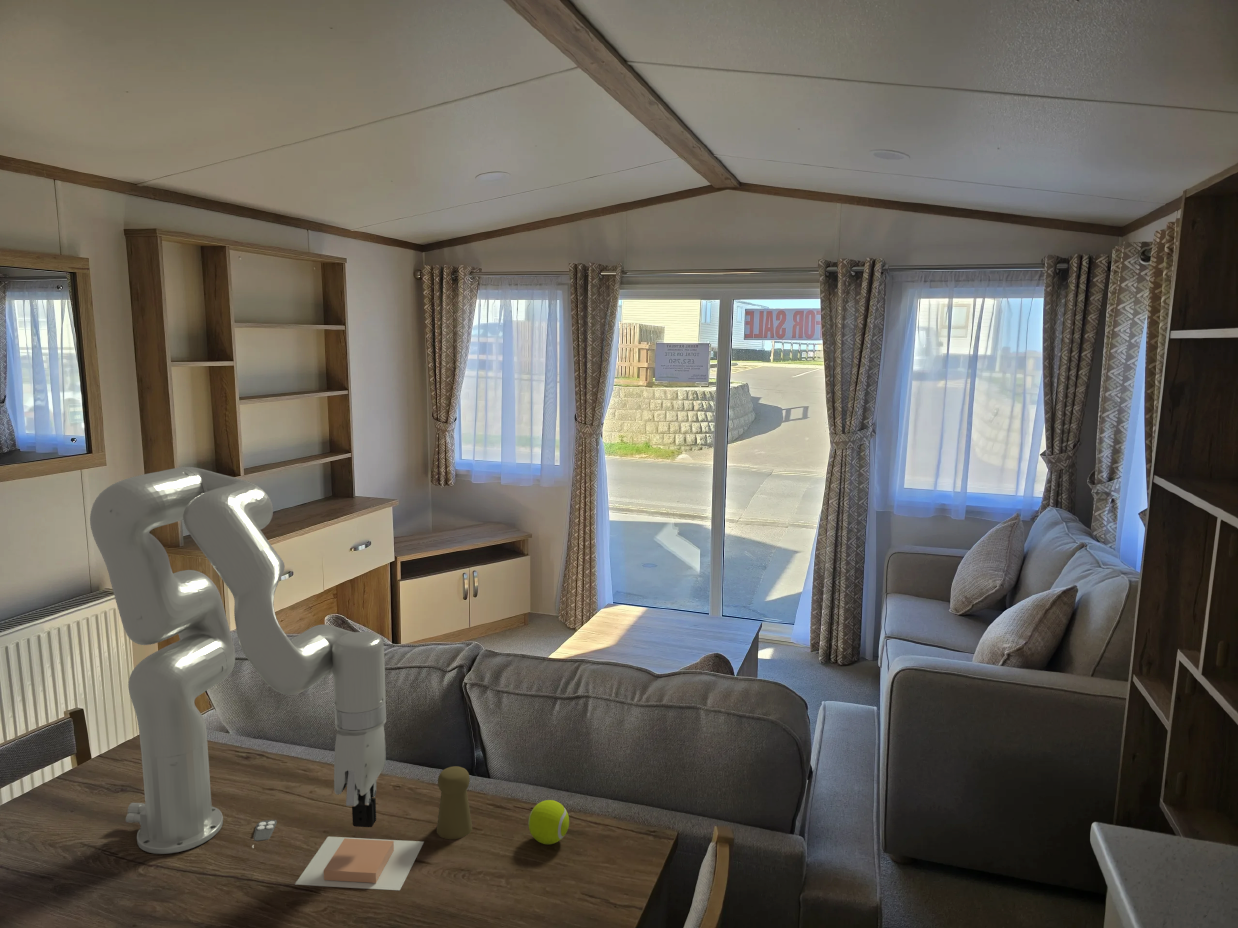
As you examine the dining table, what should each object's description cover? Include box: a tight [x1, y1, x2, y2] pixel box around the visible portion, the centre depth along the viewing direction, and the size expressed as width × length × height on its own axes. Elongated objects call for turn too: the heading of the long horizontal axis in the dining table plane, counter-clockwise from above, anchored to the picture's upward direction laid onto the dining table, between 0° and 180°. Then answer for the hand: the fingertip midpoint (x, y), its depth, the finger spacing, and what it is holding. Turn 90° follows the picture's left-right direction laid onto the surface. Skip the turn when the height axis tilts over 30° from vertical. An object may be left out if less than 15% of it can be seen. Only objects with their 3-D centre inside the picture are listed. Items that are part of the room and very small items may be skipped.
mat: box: [294, 836, 425, 892], centre depth 129 cm, size 16×12×1 cm
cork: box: [436, 765, 473, 840], centre depth 138 cm, size 6×6×11 cm
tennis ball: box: [528, 799, 570, 845], centre depth 136 cm, size 7×7×7 cm
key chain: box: [251, 819, 278, 849], centre depth 134 cm, size 13×4×2 cm, turn 12°
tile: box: [324, 837, 394, 883], centre depth 128 cm, size 8×2×8 cm
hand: (364, 823), depth 130 cm, fingers closed
